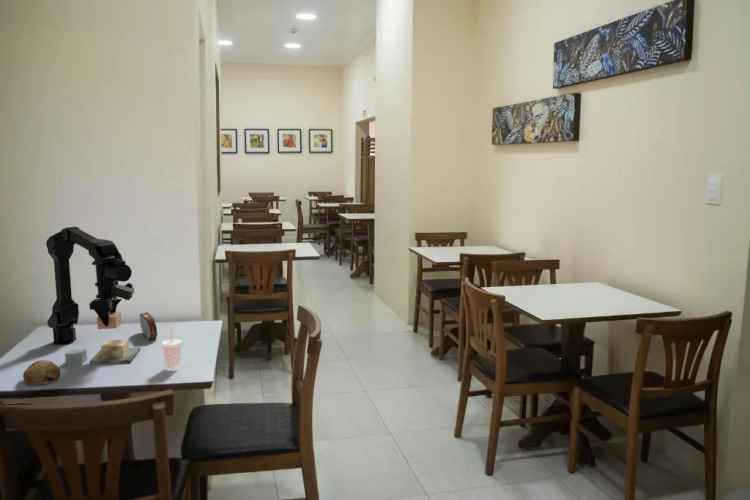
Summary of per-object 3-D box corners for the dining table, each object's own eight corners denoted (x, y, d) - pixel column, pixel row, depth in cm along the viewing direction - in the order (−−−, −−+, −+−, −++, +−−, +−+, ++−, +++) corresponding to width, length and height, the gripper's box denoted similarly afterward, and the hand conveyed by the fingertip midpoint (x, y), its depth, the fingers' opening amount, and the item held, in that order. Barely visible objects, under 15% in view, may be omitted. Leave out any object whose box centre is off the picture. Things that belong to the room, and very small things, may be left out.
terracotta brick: (97, 329, 207) (96, 317, 207) (103, 324, 213) (102, 313, 212) (116, 328, 208) (115, 316, 207) (121, 323, 214) (120, 312, 213)
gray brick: (66, 365, 203) (65, 354, 203) (71, 360, 208) (70, 349, 208) (81, 365, 204) (80, 353, 203) (87, 359, 209) (86, 348, 208)
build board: (89, 364, 204) (88, 349, 203) (102, 351, 217) (101, 337, 216) (130, 362, 206) (129, 348, 205) (140, 350, 219) (139, 336, 218)
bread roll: (32, 398, 186) (36, 378, 183) (14, 378, 190) (18, 358, 187) (63, 387, 194) (68, 368, 191) (45, 368, 198) (50, 349, 195)
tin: (158, 340, 229) (157, 318, 228) (149, 342, 228) (148, 320, 226) (147, 330, 242) (146, 309, 240) (139, 331, 240) (138, 310, 238)
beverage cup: (175, 363, 206) (173, 323, 203) (186, 367, 202) (184, 326, 199) (159, 368, 201) (157, 327, 198) (170, 373, 197) (167, 330, 195)
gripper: (122, 283, 200) (126, 330, 202) (137, 272, 218) (141, 315, 220) (86, 284, 198) (91, 331, 201) (105, 273, 217) (108, 316, 219)
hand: (109, 323), depth 210 cm, fingers closed on terracotta brick, 6 cm apart
